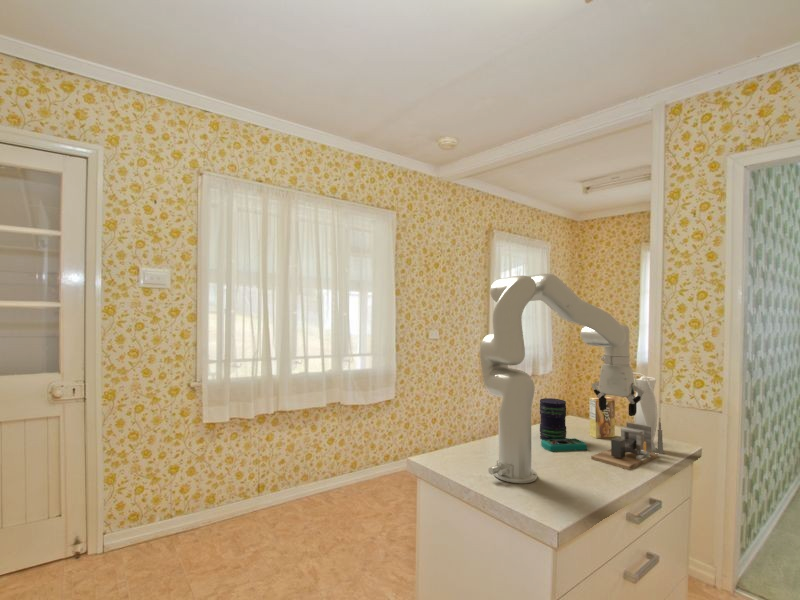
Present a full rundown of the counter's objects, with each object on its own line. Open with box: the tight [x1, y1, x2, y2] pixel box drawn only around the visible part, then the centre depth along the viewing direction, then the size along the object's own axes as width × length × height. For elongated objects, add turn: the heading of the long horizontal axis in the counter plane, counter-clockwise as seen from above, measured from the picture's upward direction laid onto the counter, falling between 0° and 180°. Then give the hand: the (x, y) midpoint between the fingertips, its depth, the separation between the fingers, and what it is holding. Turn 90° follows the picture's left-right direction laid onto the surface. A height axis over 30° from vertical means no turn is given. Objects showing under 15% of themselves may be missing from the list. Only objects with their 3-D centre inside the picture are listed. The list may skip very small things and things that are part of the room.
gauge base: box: [590, 421, 659, 471], centre depth 141 cm, size 21×12×10 cm, turn 126°
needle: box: [640, 442, 647, 455], centre depth 139 cm, size 1×2×4 cm
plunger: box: [610, 437, 639, 458], centre depth 140 cm, size 13×6×6 cm, turn 126°
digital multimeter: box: [540, 438, 588, 453], centre depth 152 cm, size 7×15×3 cm, turn 98°
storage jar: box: [539, 397, 567, 441], centre depth 163 cm, size 10×10×15 cm
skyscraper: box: [633, 372, 665, 455], centre depth 151 cm, size 8×8×28 cm
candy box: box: [589, 396, 616, 439], centre depth 167 cm, size 9×4×15 cm, turn 103°
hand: (617, 412), depth 139 cm, fingers open, 9 cm apart
